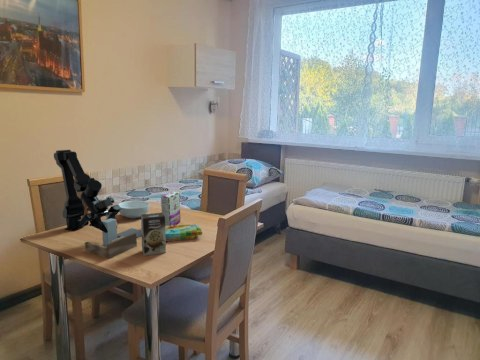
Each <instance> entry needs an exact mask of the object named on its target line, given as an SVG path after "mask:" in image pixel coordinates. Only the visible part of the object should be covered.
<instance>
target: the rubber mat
mask: <svg viewBox="0 0 480 360" xmlns="http://www.w3.org/2000/svg"><path fill="white" fill-rule="evenodd" d="M132 233H136V237H137V239H138V238H142V229H137V228H132V227H131V228H128V229H125V230H124V231H121V232H119V233H118V232H117V238H120V237H122V236H127V235H130V234H132Z"/></svg>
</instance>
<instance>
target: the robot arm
mask: <svg viewBox="0 0 480 360" xmlns="http://www.w3.org/2000/svg"><path fill="white" fill-rule="evenodd" d="M53 159H54V161H55V163H56V165H57V166H58V167H59V168H60V170H61V175H62V179H63V186H64V190H65V195H66V199H65V202H64V203H63V204H64V207H63V210H62V217H63V218H64V219H66V220H65V221H66V227H65V228H64V230H66V231H67V230H68V231H75V232H76V231H77V230H80V229H82V228H84V227H86V226H87V227H88V225H89V227H93V228H96V229H97V230H98V231H99V230H100V231H101V232H102V231H103V232H105V233H107V232H108V231H107V229H106V227H105V226H104V224H103V223H102V221H103V220H102V218H103V217H106V219H105V220H107V219H110V218H112V219H116V216H117V215H118V214H119V213H120V212H119V211H120V210H121V207H120V206H119V204H115V205H113V204H114V203H115V199H114V198H113V196H112V195H110V196H108V197H106V198H105V199H99V198H98V197H97V196H98V195H99V193H100V191H101V190H102V187H103V185H102V183H101V182H100V181H99V180H97V179H95V178H94V177H91V176H90V175H89V174H87V173H86V172H85V171H84V169H83V167H82V164H81V163H80V161H79V159H78V154H77V152H76V151H74V150H73V151H72V150H71V149H61V150H60V149H59V150H55V152H54V153H53ZM77 193H81V194H80V197H79V196H78V194H77ZM85 206H86V207H87V208H86V211H87V212H89V213H85ZM109 207H110V208H109Z"/></svg>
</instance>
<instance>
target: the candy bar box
mask: <svg viewBox="0 0 480 360" xmlns="http://www.w3.org/2000/svg"><path fill="white" fill-rule="evenodd" d="M180 196H181V195H180V192H179V191H170V192H168V193H165V194H164V195H161V196H160V202H161V203H160V205H161V213H163V214H164V216H165V226H171V225H179V223H181V204H180V203H181V200H180V199H181V198H180Z"/></svg>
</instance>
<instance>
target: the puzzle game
mask: <svg viewBox="0 0 480 360" xmlns="http://www.w3.org/2000/svg"><path fill="white" fill-rule="evenodd" d="M202 235H203V231H202V228H201V226H200V224H199V223H195V224H194V223H193V224H191V223H190V224H176V225H171V226H165V236H166V242H172V241H174V242H175V241H184V240H194V239H195V237H197V236H202Z"/></svg>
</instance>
